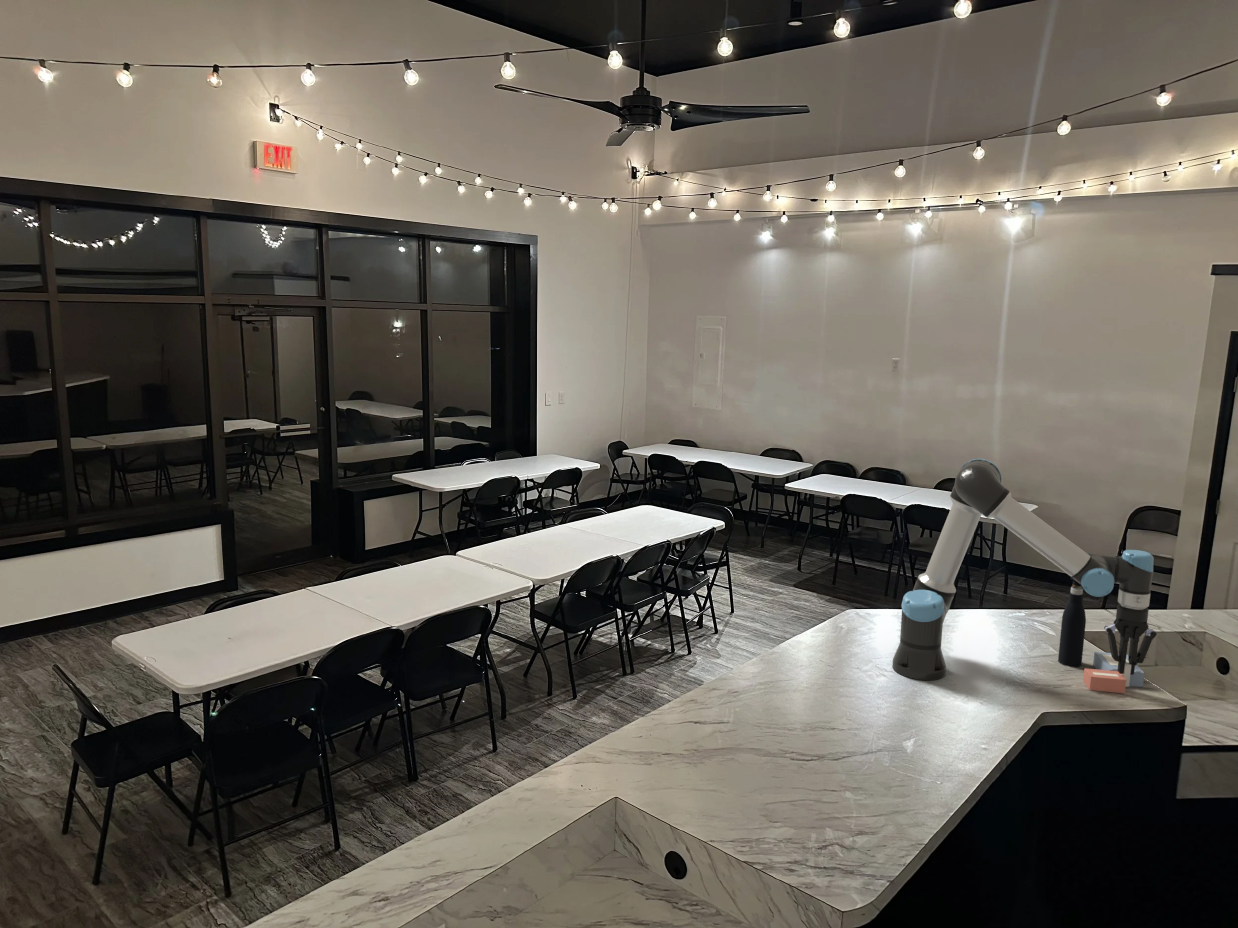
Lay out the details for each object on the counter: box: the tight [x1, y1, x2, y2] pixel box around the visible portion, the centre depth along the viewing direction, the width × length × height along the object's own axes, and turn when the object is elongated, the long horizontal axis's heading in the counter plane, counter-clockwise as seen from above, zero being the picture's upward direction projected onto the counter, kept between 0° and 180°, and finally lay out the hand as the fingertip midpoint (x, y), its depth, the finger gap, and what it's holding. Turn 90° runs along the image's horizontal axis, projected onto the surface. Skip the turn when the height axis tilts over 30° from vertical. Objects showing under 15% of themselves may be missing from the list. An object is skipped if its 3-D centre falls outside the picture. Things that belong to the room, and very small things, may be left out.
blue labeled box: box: [1092, 651, 1145, 688], centre depth 245 cm, size 9×14×4 cm, turn 166°
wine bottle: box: [1057, 576, 1087, 668], centre depth 252 cm, size 6×6×30 cm
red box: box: [1082, 668, 1127, 694], centre depth 236 cm, size 9×6×4 cm, turn 76°
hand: (1124, 684), depth 235 cm, fingers closed
